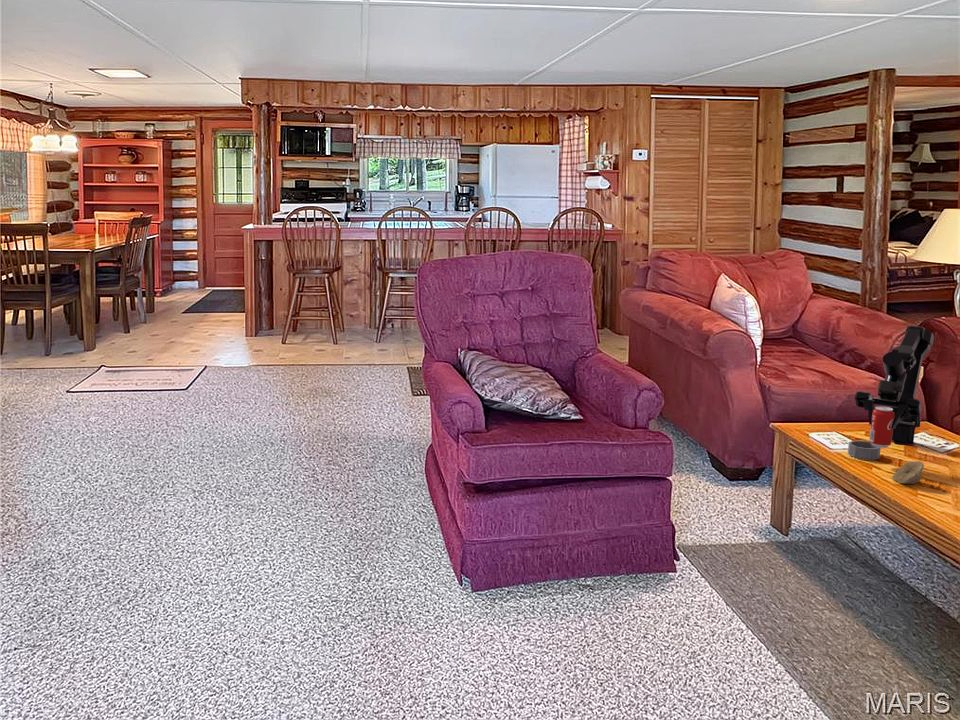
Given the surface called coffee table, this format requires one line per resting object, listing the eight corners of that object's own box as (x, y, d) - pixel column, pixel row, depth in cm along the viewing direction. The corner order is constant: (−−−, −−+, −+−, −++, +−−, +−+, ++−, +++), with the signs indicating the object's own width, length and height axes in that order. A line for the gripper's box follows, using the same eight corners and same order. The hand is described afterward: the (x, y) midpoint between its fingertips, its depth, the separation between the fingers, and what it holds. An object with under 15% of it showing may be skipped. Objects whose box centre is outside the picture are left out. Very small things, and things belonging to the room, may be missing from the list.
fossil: (906, 458, 269) (928, 461, 259) (916, 468, 269) (937, 472, 259) (886, 478, 268) (907, 482, 258) (895, 489, 268) (916, 493, 258)
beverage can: (892, 449, 276) (897, 411, 274) (871, 447, 278) (875, 409, 275) (888, 443, 282) (892, 406, 280) (866, 441, 284) (871, 405, 281)
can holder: (875, 453, 293) (876, 441, 293) (882, 461, 284) (883, 449, 284) (845, 451, 295) (846, 439, 294) (851, 459, 286) (852, 447, 285)
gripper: (859, 365, 284) (846, 406, 278) (923, 374, 273) (911, 416, 267) (863, 385, 292) (850, 425, 285) (926, 394, 281) (914, 436, 274)
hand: (880, 425), depth 278 cm, fingers closed on beverage can, 6 cm apart
